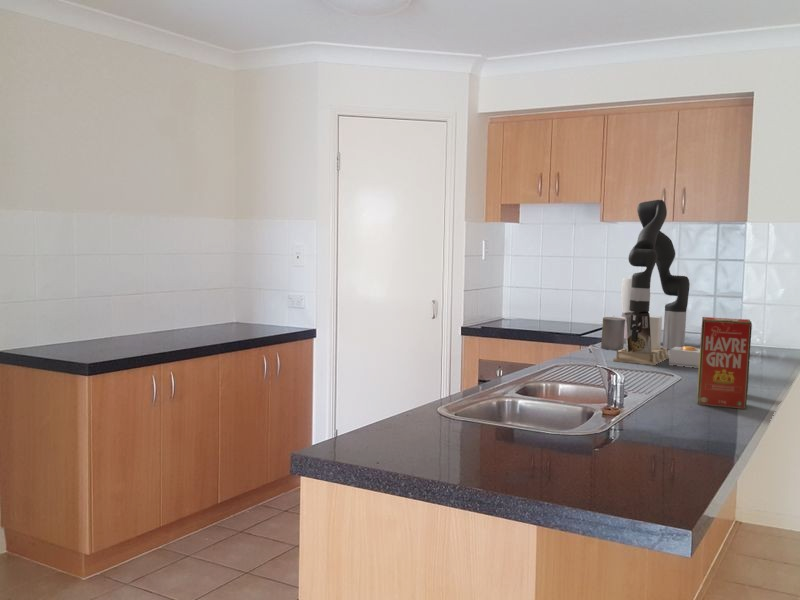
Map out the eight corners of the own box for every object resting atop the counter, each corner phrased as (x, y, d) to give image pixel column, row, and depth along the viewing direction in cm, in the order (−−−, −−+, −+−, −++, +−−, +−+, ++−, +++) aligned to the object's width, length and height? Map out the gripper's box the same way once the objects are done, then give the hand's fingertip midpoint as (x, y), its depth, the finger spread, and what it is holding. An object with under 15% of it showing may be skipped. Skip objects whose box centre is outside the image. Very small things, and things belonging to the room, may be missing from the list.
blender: (646, 344, 354) (649, 276, 351) (619, 343, 356) (622, 275, 353) (641, 340, 369) (645, 275, 367) (615, 339, 371) (619, 274, 369)
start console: (675, 361, 303) (676, 346, 302) (707, 364, 297) (708, 349, 296) (668, 365, 293) (669, 349, 292) (701, 368, 286) (702, 352, 286)
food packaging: (696, 404, 218) (701, 318, 216) (696, 399, 226) (701, 316, 225) (747, 409, 213) (753, 321, 211) (744, 403, 222) (750, 319, 220)
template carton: (637, 353, 317) (639, 315, 316) (659, 355, 312) (662, 316, 311) (634, 354, 312) (636, 316, 311) (656, 356, 307) (658, 317, 306)
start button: (683, 358, 298) (683, 345, 297) (696, 359, 295) (696, 347, 295) (680, 359, 294) (681, 347, 293) (693, 361, 291) (694, 348, 291)
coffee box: (649, 351, 301) (648, 310, 300) (651, 353, 295) (650, 313, 294) (626, 351, 303) (624, 312, 302) (627, 354, 297) (625, 314, 295)
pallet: (631, 353, 321) (631, 344, 321) (670, 357, 313) (670, 348, 313) (613, 361, 298) (613, 351, 298) (654, 365, 290) (655, 355, 290)
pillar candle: (596, 347, 339) (598, 314, 338) (615, 346, 342) (617, 314, 341) (609, 350, 330) (611, 316, 329) (628, 350, 333) (630, 316, 332)
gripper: (634, 298, 306) (632, 338, 307) (625, 299, 293) (622, 341, 295) (653, 299, 302) (651, 340, 303) (645, 300, 290) (642, 343, 291)
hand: (637, 340), depth 299 cm, fingers closed on coffee box, 8 cm apart
